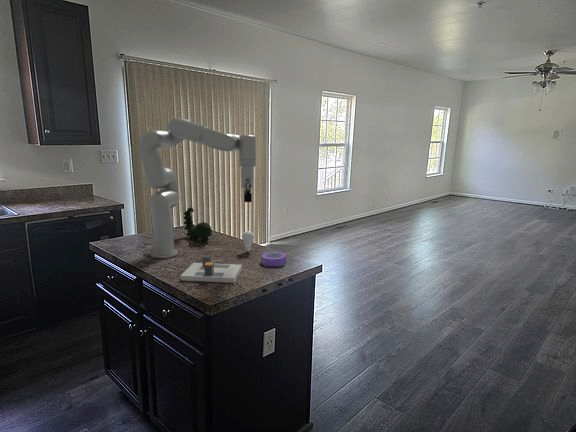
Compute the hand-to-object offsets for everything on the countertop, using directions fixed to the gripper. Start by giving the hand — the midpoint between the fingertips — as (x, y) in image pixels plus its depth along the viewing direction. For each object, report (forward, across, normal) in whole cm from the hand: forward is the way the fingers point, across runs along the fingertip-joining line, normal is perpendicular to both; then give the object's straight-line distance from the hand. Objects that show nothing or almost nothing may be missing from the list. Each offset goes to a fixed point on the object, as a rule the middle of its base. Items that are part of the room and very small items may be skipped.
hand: (247, 200), depth 167 cm
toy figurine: (+29, -38, -28) cm, 56 cm away
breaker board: (+29, +17, -15) cm, 37 cm away
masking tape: (+30, +4, +12) cm, 32 cm away
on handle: (+27, +12, -18) cm, 34 cm away
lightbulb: (+29, -14, 0) cm, 32 cm away
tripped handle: (+27, +22, -16) cm, 38 cm away
